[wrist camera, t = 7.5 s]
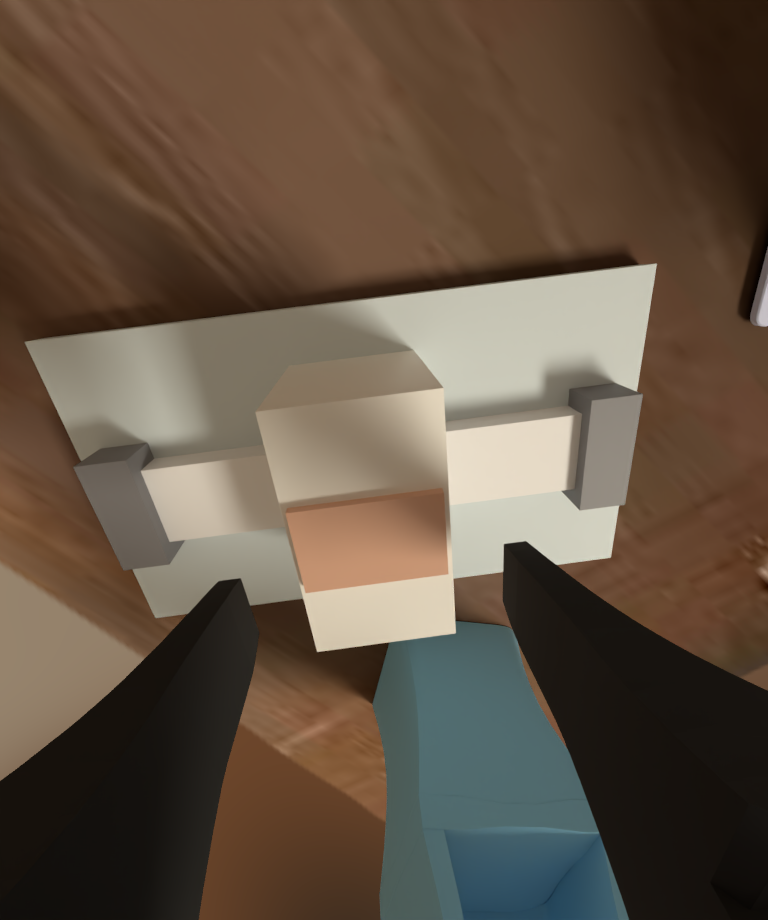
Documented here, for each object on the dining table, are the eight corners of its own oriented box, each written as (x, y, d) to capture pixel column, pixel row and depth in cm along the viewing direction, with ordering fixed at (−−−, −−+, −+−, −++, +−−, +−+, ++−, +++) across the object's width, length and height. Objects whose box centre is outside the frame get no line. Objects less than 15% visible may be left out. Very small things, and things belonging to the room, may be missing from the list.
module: (413, 350, 16) (445, 390, 10) (428, 535, 20) (457, 640, 14) (289, 365, 16) (252, 415, 10) (327, 548, 20) (316, 659, 14)
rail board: (639, 264, 16) (692, 262, 14) (600, 545, 22) (631, 580, 20) (43, 338, 16) (-16, 349, 13) (163, 603, 22) (138, 647, 19)
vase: (523, 627, 24) (1016, 1654, 6) (485, 711, 27) (740, 1560, 9) (396, 614, 23) (543, 1816, 5) (372, 704, 26) (409, 1647, 8)
